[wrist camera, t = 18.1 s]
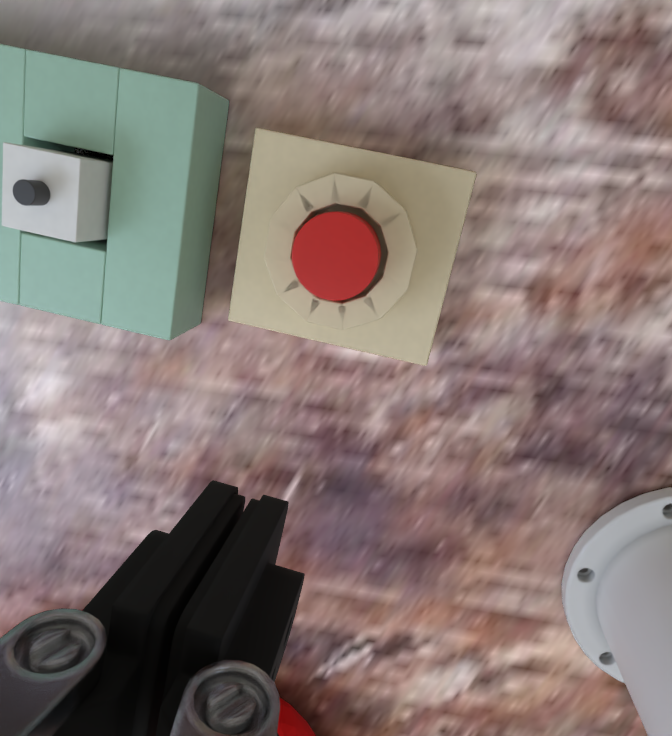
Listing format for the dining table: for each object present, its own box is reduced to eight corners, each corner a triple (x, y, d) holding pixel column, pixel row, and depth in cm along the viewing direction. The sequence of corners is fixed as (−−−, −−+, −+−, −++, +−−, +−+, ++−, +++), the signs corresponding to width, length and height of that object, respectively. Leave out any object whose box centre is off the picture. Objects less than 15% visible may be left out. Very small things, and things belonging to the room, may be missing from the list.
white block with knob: (148, 167, 28) (65, 156, 22) (142, 235, 29) (61, 244, 23) (85, 154, 29) (-16, 138, 22) (81, 221, 30) (-17, 227, 23)
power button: (389, 220, 24) (387, 221, 22) (371, 302, 25) (368, 309, 23) (307, 203, 24) (299, 203, 23) (293, 285, 25) (284, 290, 24)
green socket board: (230, 100, 27) (199, 82, 23) (201, 324, 30) (170, 341, 26) (-129, 28, 28) (-214, 1, 24) (-119, 250, 32) (-191, 256, 28)
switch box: (472, 174, 26) (481, 169, 22) (425, 355, 29) (427, 377, 25) (267, 132, 27) (242, 121, 23) (240, 312, 30) (214, 328, 26)
